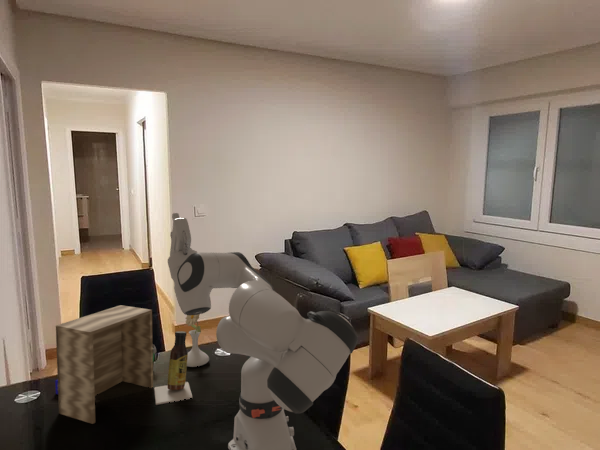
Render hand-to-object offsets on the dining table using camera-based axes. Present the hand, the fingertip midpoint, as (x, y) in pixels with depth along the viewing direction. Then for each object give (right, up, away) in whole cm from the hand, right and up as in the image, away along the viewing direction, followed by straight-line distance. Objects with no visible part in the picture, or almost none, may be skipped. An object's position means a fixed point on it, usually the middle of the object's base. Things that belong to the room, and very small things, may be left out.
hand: (174, 223), depth 122 cm
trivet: (-7, -61, +21) cm, 65 cm away
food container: (-25, -59, +41) cm, 76 cm away
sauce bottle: (-6, -59, +23) cm, 64 cm away
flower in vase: (-5, -59, +46) cm, 75 cm away
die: (-45, -60, +22) cm, 79 cm away
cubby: (-27, -61, +17) cm, 69 cm away
